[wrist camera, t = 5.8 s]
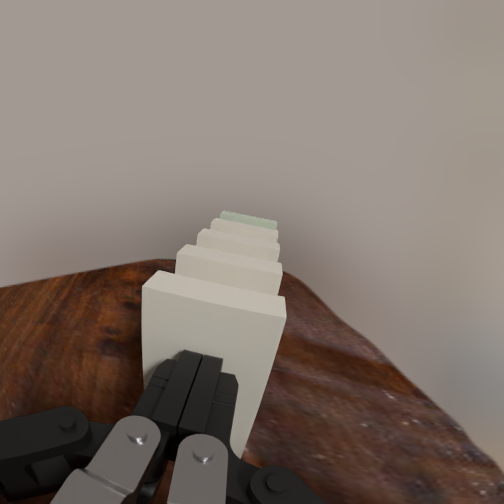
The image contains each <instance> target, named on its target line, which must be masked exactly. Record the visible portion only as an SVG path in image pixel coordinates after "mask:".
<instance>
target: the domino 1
mask: <svg viewBox="0 0 504 504" xmlns="http://www.w3.org/2000/svg"><path fill="white" fill-rule="evenodd" d="M285 321H286V307H285V297H282V296H276V295H271V294H266V293H261V292H256V291H251V290H246V289H241V288H236V287H232V286H227V285H222V284H217V283H213V282H208V281H203V280H199V279H194V278H190V277H186V276H181V275H177V274H172V273H168V272H164V271H160V270H159V271H157V272H156V273H155V274H154V275H153V276H152V277H151V278H150V279H149V280H148V281H147V282H146V283H145V284H144V285H143V286H142V360H143V380H144V390H145V388H146V386H147V385H148V382H149V380H150V379H151V377H152V375H153V373H154V371H155V369H156V368H157V366H158V365H159V364H160V363H162V362H163V361H165V360H166V359H171V360H175V361H178V360H179V358H180V356H181V354H182V352H183V350H184V349H185V350H189V351H193V352H197V353H201V354H203V356H204V354H206V355H210V356H214V357H219V358H223V365H222V371H221V372H225V373H229V374H234V375H235V377H236V379H237V382H238V384H239V387H238V394H237V400H236V406H235V412H234V418H233V424H232V430H231V436H230V445H231V448H232V450H233V452H234V453H235V454H236V456H237V457H239V458H240V459H241V456H242V453H243V451H244V448H245V445H246V442H247V440H248V437H249V434H250V431H251V428H252V425H253V423H254V420H255V417H256V414H257V411H258V408H259V405H260V402H261V399H262V396H263V393H264V390H265V387H266V384H267V381H268V377H269V374H270V371H271V368H272V365H273V361H274V358H275V355H276V352H277V348H278V345H279V342H280V338H281V335H282V332H283V328H284V325H285Z"/></svg>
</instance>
